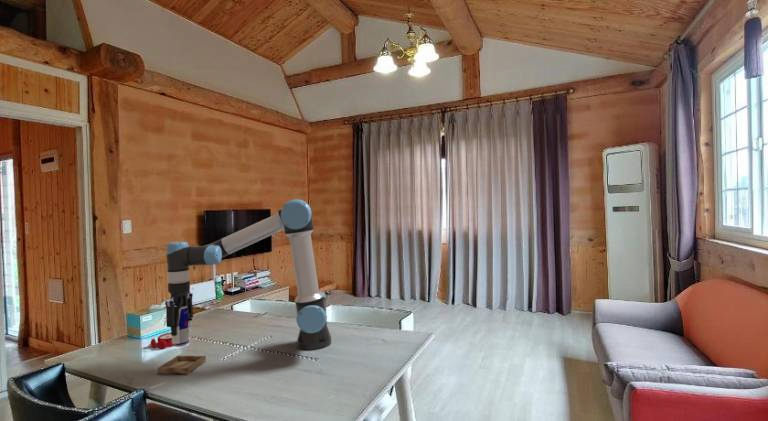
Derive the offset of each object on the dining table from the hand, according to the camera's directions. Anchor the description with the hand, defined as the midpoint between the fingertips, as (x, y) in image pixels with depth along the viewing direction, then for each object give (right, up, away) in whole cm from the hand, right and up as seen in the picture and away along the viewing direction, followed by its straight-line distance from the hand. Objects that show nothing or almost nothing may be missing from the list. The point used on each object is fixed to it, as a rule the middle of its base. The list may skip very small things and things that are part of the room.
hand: (181, 340), depth 149 cm
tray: (+1, -11, 0) cm, 11 cm away
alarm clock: (-21, -12, +27) cm, 36 cm away
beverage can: (0, -2, 0) cm, 2 cm away
